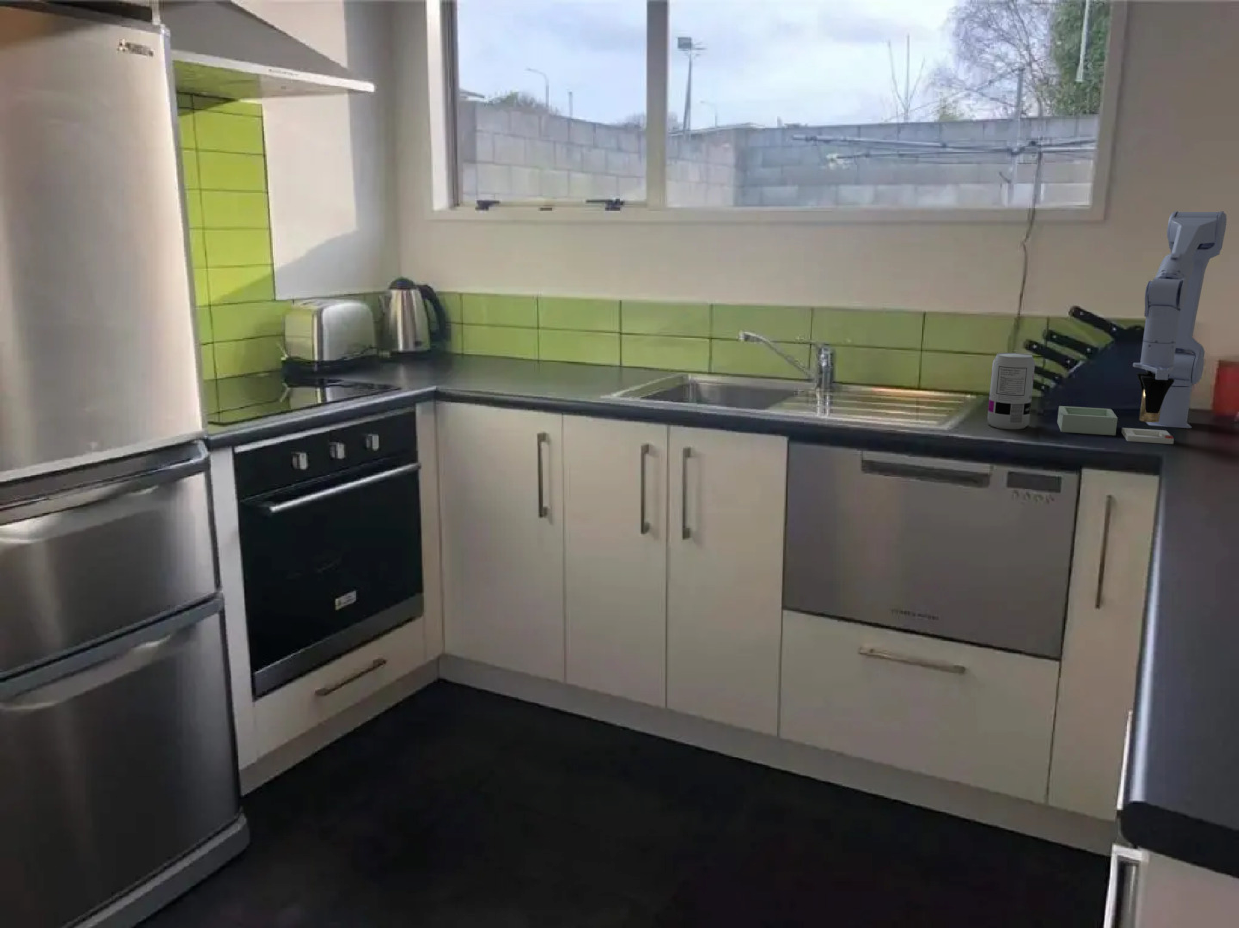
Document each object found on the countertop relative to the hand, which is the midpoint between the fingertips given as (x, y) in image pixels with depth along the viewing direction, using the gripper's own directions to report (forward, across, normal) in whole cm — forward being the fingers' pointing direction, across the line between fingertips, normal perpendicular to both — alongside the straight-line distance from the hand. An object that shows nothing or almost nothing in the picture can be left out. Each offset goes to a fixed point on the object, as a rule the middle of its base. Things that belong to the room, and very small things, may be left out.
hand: (1150, 410), depth 197 cm
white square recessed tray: (+6, 0, 0) cm, 6 cm away
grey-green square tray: (+6, -6, -10) cm, 13 cm away
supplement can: (+6, -6, -26) cm, 27 cm away
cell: (+2, 0, 0) cm, 2 cm away
